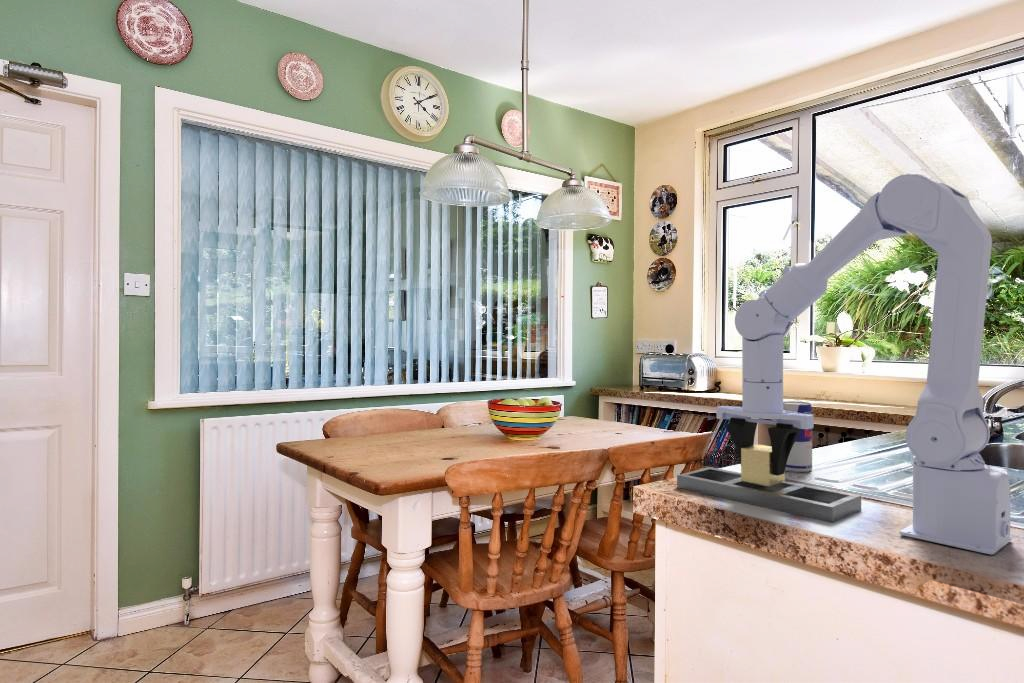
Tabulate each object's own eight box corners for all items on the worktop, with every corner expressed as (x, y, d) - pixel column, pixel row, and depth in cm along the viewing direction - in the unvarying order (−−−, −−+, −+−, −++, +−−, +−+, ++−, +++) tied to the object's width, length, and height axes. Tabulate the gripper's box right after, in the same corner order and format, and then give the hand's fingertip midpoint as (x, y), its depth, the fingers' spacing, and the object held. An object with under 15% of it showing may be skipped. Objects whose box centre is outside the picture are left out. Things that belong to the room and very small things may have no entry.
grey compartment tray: (861, 509, 90) (861, 495, 90) (832, 522, 84) (832, 507, 84) (709, 478, 109) (708, 467, 109) (677, 487, 103) (677, 475, 103)
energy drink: (815, 473, 112) (815, 404, 112) (783, 472, 113) (783, 404, 113) (808, 466, 117) (807, 401, 117) (776, 465, 118) (776, 401, 118)
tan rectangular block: (784, 481, 96) (784, 448, 96) (769, 486, 93) (769, 452, 93) (757, 476, 100) (757, 444, 100) (741, 480, 97) (741, 447, 97)
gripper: (823, 382, 93) (823, 475, 93) (733, 377, 104) (733, 460, 104) (800, 385, 88) (800, 483, 89) (708, 379, 100) (708, 466, 100)
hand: (762, 471), depth 96 cm, fingers closed on tan rectangular block, 4 cm apart
